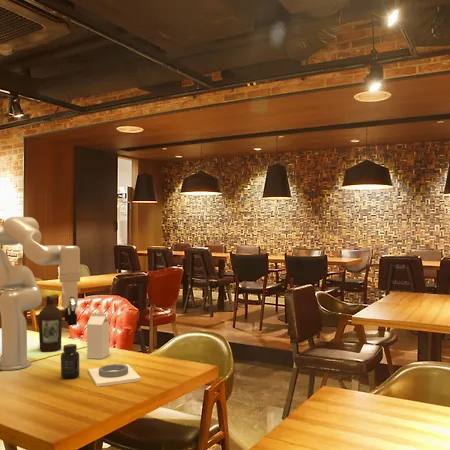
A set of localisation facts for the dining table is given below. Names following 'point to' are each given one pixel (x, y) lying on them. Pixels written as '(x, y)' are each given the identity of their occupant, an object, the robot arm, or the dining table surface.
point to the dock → (113, 375)
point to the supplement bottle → (70, 362)
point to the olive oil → (50, 327)
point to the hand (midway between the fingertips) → (70, 322)
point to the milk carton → (97, 336)
